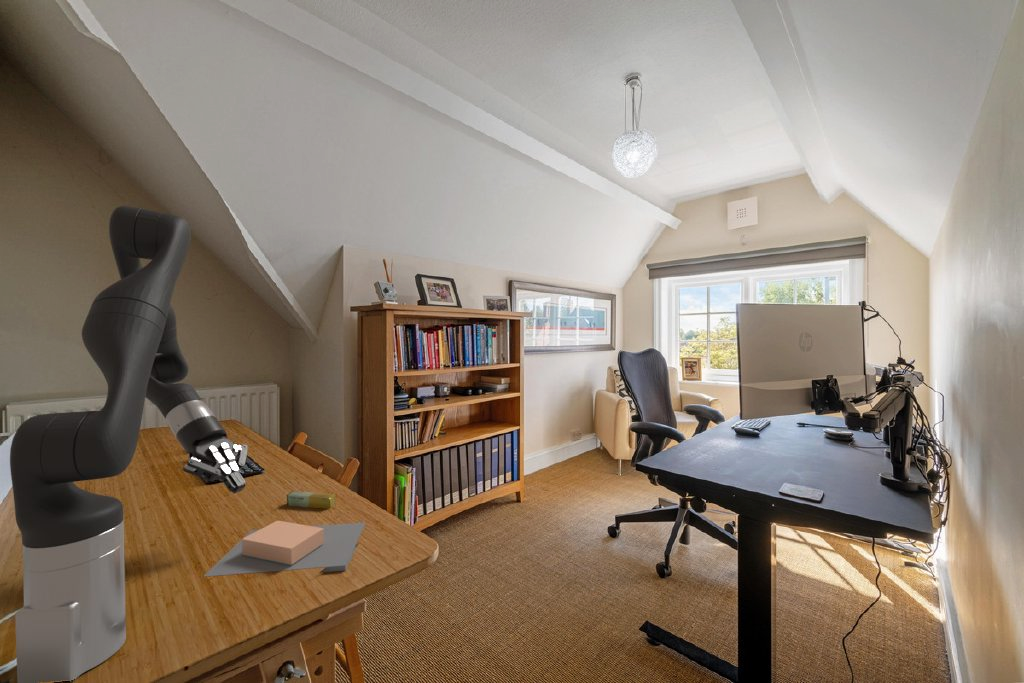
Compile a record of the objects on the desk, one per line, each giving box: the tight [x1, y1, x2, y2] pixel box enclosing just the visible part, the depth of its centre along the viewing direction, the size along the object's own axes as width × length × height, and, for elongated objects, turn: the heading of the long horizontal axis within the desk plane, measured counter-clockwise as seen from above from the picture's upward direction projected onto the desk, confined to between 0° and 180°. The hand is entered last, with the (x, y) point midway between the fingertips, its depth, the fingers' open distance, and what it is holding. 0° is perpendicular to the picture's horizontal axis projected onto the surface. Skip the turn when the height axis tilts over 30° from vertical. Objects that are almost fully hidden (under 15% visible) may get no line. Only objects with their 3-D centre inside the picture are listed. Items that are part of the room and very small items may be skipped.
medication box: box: [286, 490, 336, 510], centre depth 100 cm, size 12×3×4 cm, turn 81°
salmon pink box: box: [241, 520, 324, 566], centre depth 79 cm, size 3×8×12 cm
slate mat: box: [202, 522, 367, 578], centre depth 81 cm, size 17×24×1 cm
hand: (240, 489), depth 82 cm, fingers closed
